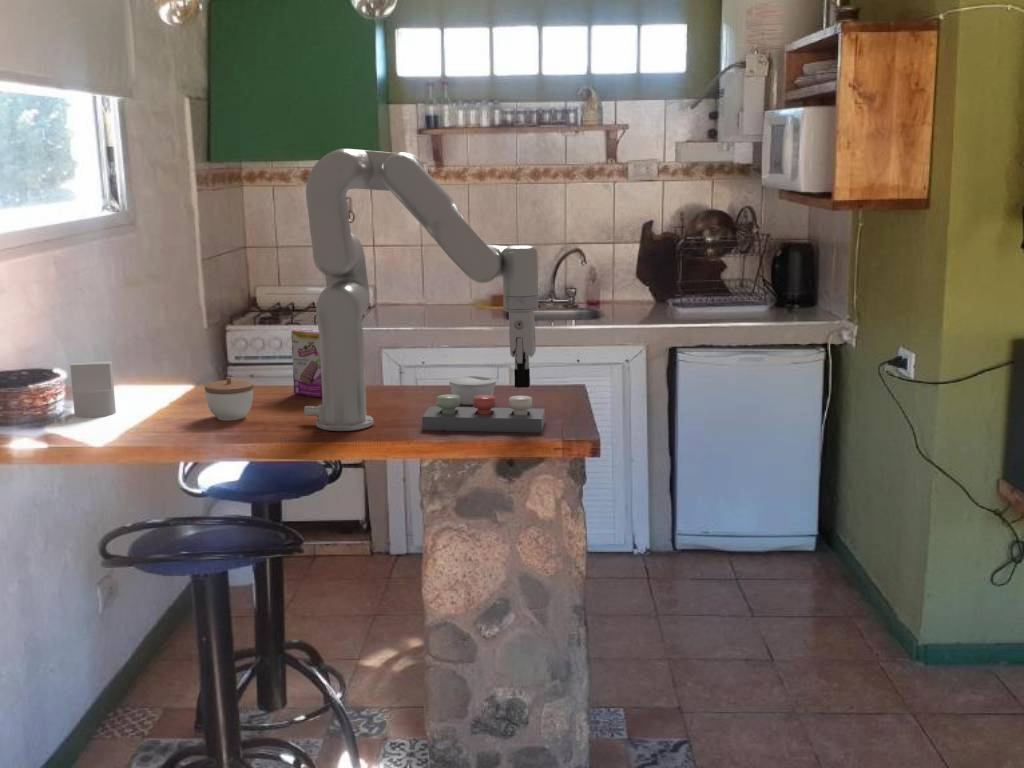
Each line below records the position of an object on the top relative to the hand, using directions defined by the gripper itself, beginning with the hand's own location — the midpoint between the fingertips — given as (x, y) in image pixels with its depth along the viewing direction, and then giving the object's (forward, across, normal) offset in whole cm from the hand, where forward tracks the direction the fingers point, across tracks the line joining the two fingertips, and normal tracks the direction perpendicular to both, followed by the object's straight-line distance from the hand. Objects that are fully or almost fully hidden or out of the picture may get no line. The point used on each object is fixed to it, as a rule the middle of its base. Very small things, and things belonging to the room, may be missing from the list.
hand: (522, 386), depth 234 cm
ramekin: (+9, +25, +14) cm, 30 cm away
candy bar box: (+8, +28, +54) cm, 62 cm away
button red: (+7, 0, +8) cm, 11 cm away
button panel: (+9, 0, +8) cm, 12 cm away
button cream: (+8, 0, 0) cm, 8 cm away
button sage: (+7, 0, +16) cm, 18 cm away
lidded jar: (+8, +3, +68) cm, 68 cm away
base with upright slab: (+8, +4, +100) cm, 101 cm away
